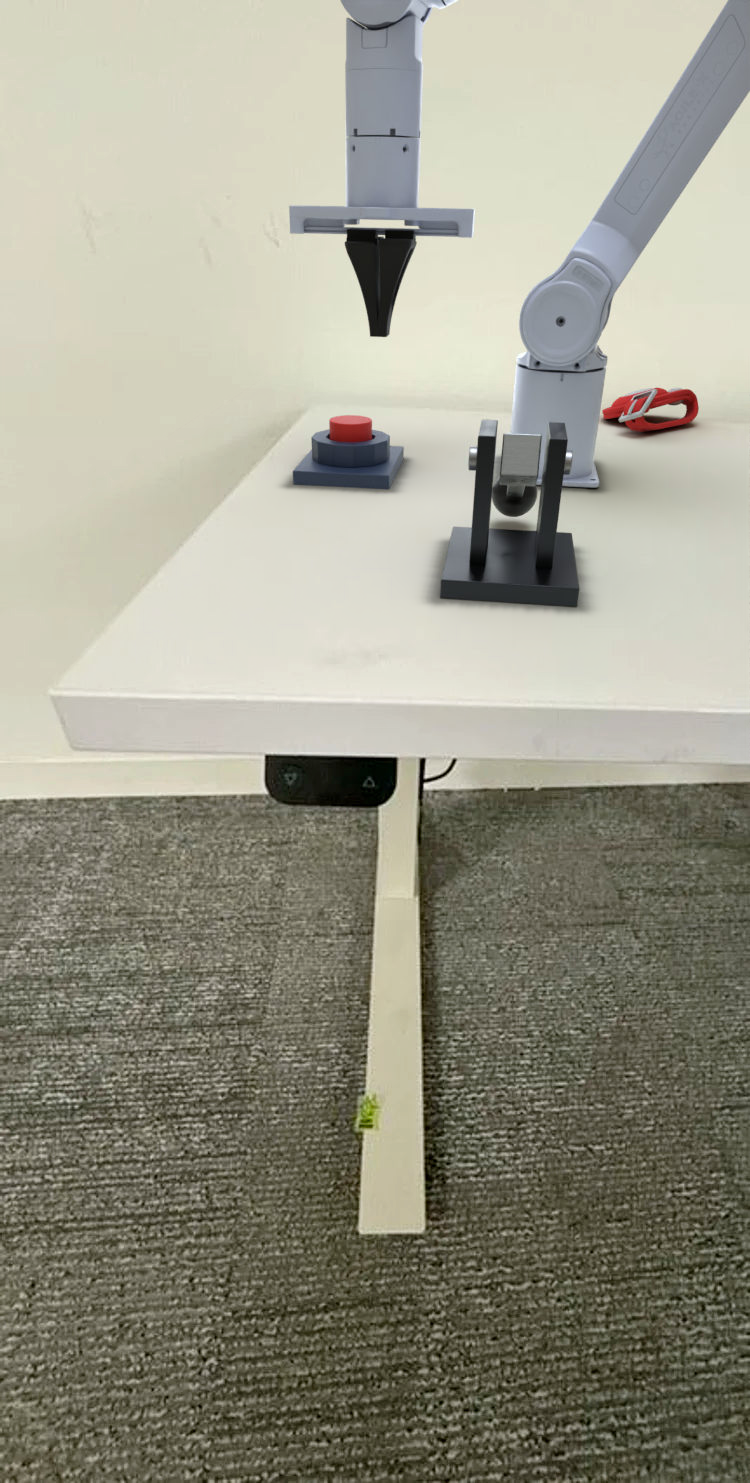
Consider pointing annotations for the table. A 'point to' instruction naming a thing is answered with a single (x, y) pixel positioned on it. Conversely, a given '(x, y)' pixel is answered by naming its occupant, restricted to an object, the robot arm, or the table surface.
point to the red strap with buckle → (651, 407)
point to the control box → (350, 462)
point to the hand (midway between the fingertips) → (379, 335)
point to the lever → (517, 474)
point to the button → (350, 428)
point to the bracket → (514, 537)
